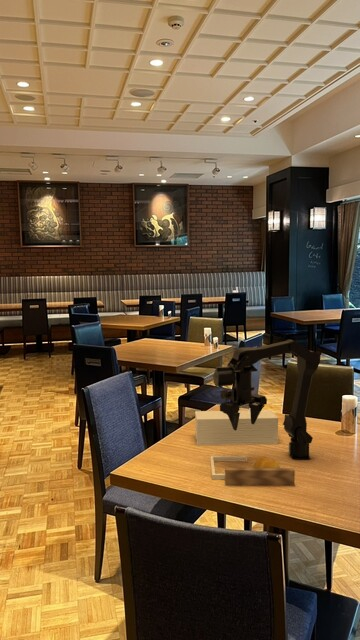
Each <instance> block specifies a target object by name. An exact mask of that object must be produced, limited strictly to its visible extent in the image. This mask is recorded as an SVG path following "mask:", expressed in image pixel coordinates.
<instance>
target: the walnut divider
mask: <svg viewBox="0 0 360 640" xmlns="http://www.w3.org/2000/svg"><path fill="white" fill-rule="evenodd" d="M224 474H225V479H224V485H225V486H282V487H283V486H290V487H291V486H294V487H295V479H296V478H295V475H296V471H295V468H291V467H289V468H287V467H285V468H284V467H283V468H254V467H250V468H249V467H248V468H247V467H242V468H241V467H237V468H236V467H224Z"/></svg>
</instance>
